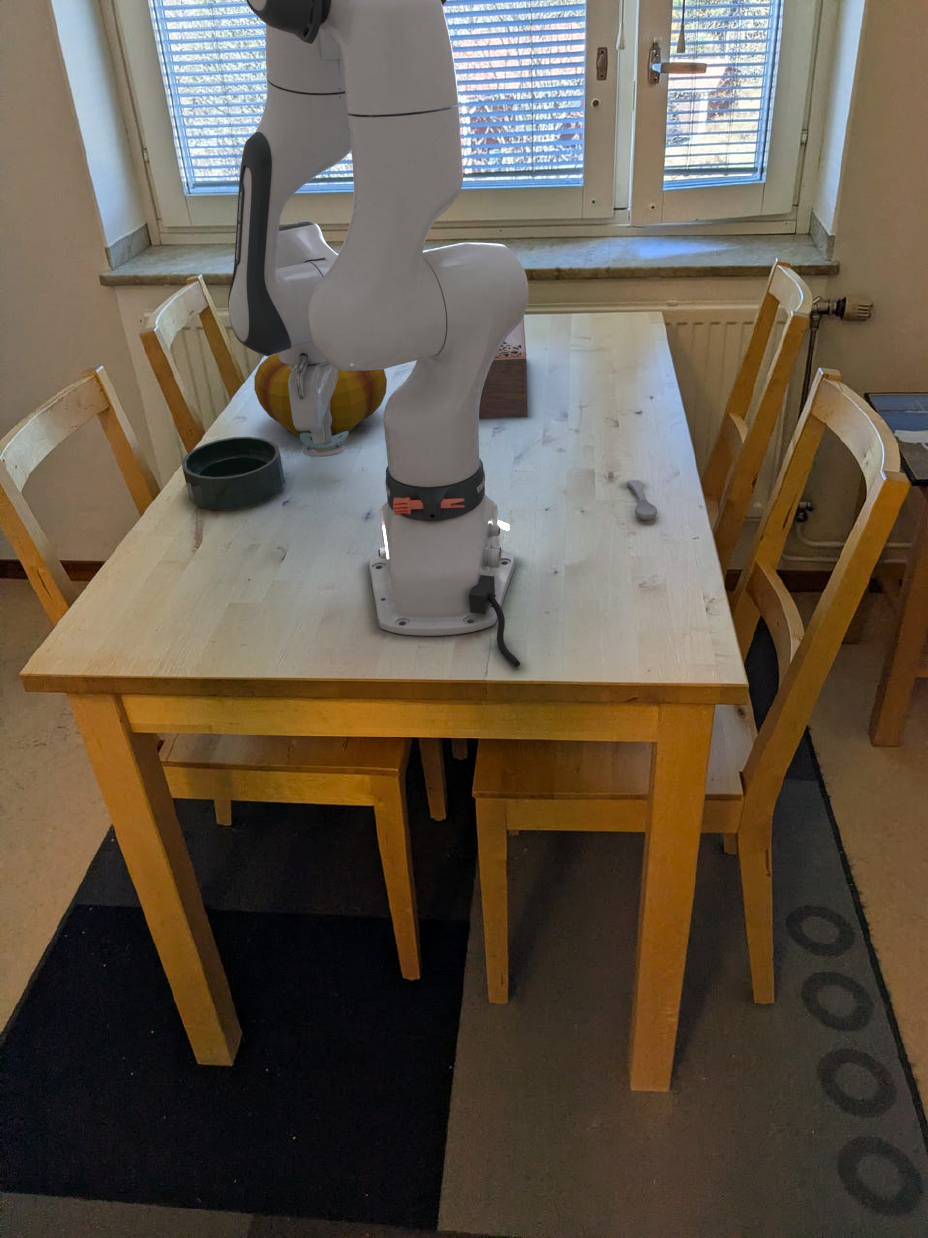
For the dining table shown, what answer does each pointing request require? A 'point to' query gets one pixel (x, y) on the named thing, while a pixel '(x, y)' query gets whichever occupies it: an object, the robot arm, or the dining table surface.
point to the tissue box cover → (507, 379)
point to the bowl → (233, 473)
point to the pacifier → (330, 444)
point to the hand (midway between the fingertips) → (322, 435)
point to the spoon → (642, 502)
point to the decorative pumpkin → (347, 405)
